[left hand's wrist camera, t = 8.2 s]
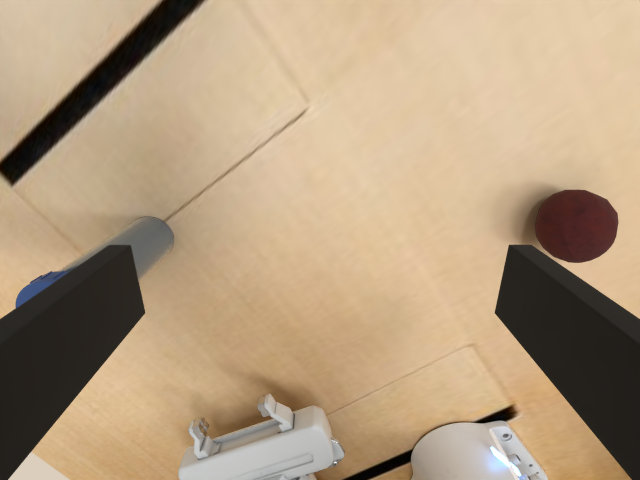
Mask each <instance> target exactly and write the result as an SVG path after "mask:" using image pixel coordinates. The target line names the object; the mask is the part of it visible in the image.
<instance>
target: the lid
mask: <svg viewBox="0 0 640 480" xmlns="http://www.w3.org/2000/svg"><path fill="white" fill-rule="evenodd" d="M67 273H69V272H64V271H58V272H52V271H51V272H49V273H48V274H45V275H43V276H42V275H41V276H39V277H38V278H36V279H35V280H33V281H31V282H30V284H29V285H27V286H26V287H24V288H23V289H22V290H21V291H20V293H19V294H18V297H17V299H16V308H17V307H19V306H20V305H22V304H23V303H25V302H26V301H28V300H29V299H31V298H32V297H33V296H35V295H36V294H38V293H39V292H41V291H42V290H44V289H45V288H47V287H48V286H50V285H51V284H52V283H54V282H55V281H57V280H58V279H60V278H61V277H63V276H64V275H66V274H67Z"/></svg>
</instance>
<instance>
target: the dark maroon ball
mask: <svg viewBox="0 0 640 480" xmlns="http://www.w3.org/2000/svg"><path fill="white" fill-rule="evenodd" d="M617 227H618V215H617V212H616V211H615V210H614V208H613V207H612V206H611V204H610V203H609V202H608V200H607V199H605V198H602V197H600V196H598V195H596V194H593V193H591V192H588V191H586V190H564V191H561V192H558V193H556V194H553V195H552V196H551V197H549V198H548V199H547V200H546V201H545V202H544V203H543V205H542V206H541V208H540V209H539V212H538V216H537V219H536V223H535V228H536V236H537V239H538V240H539V242H540V244H541V245H542V247H543V248H544V249H545V250H546V251H548V252H549V253H550V254H551V255H552V256H553V257H556V258H559V259H561V260H564V261H567V262H573V263H581V262H586V261H590V260H593V259H595V258H597V257H599V256H601V255H602V254H604V253H605V252H606V251H607V250H608V249H609V248H610V247H611V246H612V244H613V243H614V240H615V238H616V234H617Z"/></svg>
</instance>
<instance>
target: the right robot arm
mask: <svg viewBox="0 0 640 480" xmlns="http://www.w3.org/2000/svg"><path fill="white" fill-rule="evenodd" d="M258 401H259V402H258V403H257V407H258V410H259V411H260V412H261V415H262V416H263V417H266V416H271V417H272V418H273V419H270V420H267V421H264V422H261V423H258V424H255V425H252V426H249V427H246V428H243V429H240V430H237V431H234V432H231V433H228V434H225V435H222V436H219V437H216V438H213V439H211V438H210V437H209V436H206V433H207V432H206V431H207V430H208V427H209V424H208V423H207V421H205V419H204V417H201V418H198V419H195V420H193V421H191V424H190V426H189V433H190V435H191V436H192V437H193V439H194V445H192V446H189V447H188V448H187V449H186V451H185V453H184V455H183V458H182V460H181V463H180V466H179V471H178V477H179V479H180V480H317V479H316V477H315V475H314V473H316V472H318V471H321V470H323V469H325V468H332V467H335V466H337V465H338V462H339V461H341V460H342V459H343V457H344V455H345V451H344V449H343V447H342V445H341V443H340V442H339V441H338V440H337V439H335V438H333V435H332V431H331V428H330V425H329V422H328V420H327V417H326V415H325V413H324V411H323V409H322V408H320V407H317V406H315V405H312V406H308V407H305V408H303V409H300V410H297V411H294V412H292V411H291V409H290V408H289V407H287V406H284V405H282V404H280V403H278V402H275V400H274V398H273V397H272V395H271V394H267V395H265V396H262V397H259V399H258ZM205 436H206V437H205ZM411 465H412V469H413V475H412V478H411V480H548V477H547V475H546V473H545V471H544V470H543V469H542V467H541V466H540V465H539V463H538V462H537V461H536V459H535V458H534V457H533V456H532V454H531V453H530V452H529V450H528V449H527V448H526V447H525V445H524V444H523V443H522V441H521V440H520V439H519V438H518V436H517V435H516V434H515V432H514V431H513V430H512V428H511V427H510V426H509V425H508V423H507V422H505V421H494V422H489V423H483V424H481V423H468V422H463V423H454V424H449V425H445V426H442V427H440V428H437V429H435V430H433V431H431V432H430V433H428V434H427V435H425V436H424V437H423V438H422V439H421V440H420V441H419V442H418V443H417V445H416V446H415V448H414V450H413V452H412V455H411Z"/></svg>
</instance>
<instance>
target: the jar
mask: <svg viewBox="0 0 640 480" xmlns="http://www.w3.org/2000/svg"><path fill="white" fill-rule="evenodd" d="M173 244H174V236H173V233H172V231H171V229H170V228H169V226H168V225H167V224H166V223H165V222H163V221H162V220H160V219H158V218H155V217H142V218H139V219H137V220H136V221H134V222H133V223H131V224H129V225H128V226H126V227H125V228H123V229H122V230H120V231H119V232H117V233H116V234H114V235H113V236H111V237H109V238H108V239H106V240H105V241H103V242H102V243H100V244H99V245H97V246H96V247H94V248H93V249H91V250H89V251H88V252H86V253H85V254H83V255H82V256H80V257H79V258H77V259H76V260H74V261H73V262H71V263H70V264H68V265H66V266H65V267H63V268H62V269H60V270H59V271H64V272H70V271H71V270H73V269H74V268H76V267H77V266H79V265H80V264H82V263H83V262H85V261H86V260H88V259H89V258H90V257H92V256H93V255H95V254H96V253H98V252H99V251H101V250H102V249H104V248H105V247H107V246H108V245H131V247H132V252H133V257H134V262H135V266H136V271H137V276H138V281H139V282H140V281H141V280H142V279H143V278H144V277H145V276H146V275H147V274H148V273H149V272H150V271H151V270H152V269H153V268H154V267H155V266H156V265H157V264H158V263H159V262H160V261H161V260H162V259H163V258H164V257H165V256H166V255H167V254H168V253H169V252H170V251H171V249H172V247H173ZM57 272H58V271H57Z"/></svg>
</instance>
